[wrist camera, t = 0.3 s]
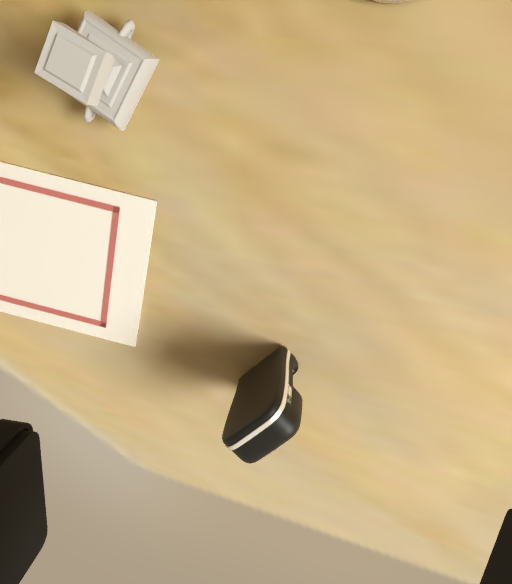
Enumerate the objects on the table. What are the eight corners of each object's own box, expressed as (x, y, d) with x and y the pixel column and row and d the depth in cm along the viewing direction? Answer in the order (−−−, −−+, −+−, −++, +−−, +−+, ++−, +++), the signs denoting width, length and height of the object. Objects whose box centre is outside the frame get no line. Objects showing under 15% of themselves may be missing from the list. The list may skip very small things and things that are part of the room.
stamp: (129, 142, 42) (86, 146, 34) (66, 101, 41) (8, 95, 33) (175, 49, 39) (140, 30, 31) (108, 2, 38) (54, -30, 30)
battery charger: (260, 402, 50) (246, 478, 39) (236, 379, 49) (215, 449, 38) (309, 367, 48) (307, 436, 37) (284, 341, 47) (276, 405, 36)
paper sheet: (-61, 146, 44) (-64, 146, 44) (157, 201, 43) (155, 201, 43) (-57, 294, 50) (-60, 296, 49) (135, 345, 49) (134, 347, 49)
